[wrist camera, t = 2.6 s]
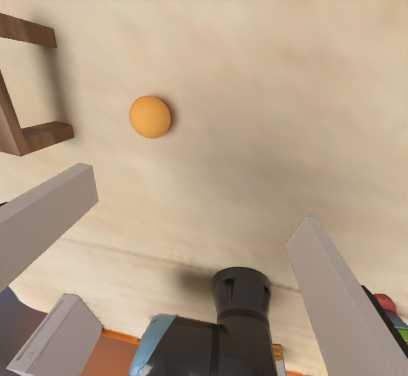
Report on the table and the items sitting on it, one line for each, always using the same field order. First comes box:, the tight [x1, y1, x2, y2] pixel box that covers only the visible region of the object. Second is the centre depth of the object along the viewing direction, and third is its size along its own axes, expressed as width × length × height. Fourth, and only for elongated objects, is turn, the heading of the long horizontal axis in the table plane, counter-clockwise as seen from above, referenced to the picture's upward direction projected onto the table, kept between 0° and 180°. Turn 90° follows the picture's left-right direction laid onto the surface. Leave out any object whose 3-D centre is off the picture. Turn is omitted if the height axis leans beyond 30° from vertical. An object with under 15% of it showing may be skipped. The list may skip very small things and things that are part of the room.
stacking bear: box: [373, 294, 408, 345], centre depth 38 cm, size 11×10×18 cm
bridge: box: [0, 13, 74, 157], centre depth 22 cm, size 3×14×9 cm, turn 168°
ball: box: [129, 96, 171, 138], centre depth 24 cm, size 6×6×6 cm
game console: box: [7, 294, 102, 376], centre depth 62 cm, size 6×27×20 cm, turn 4°
